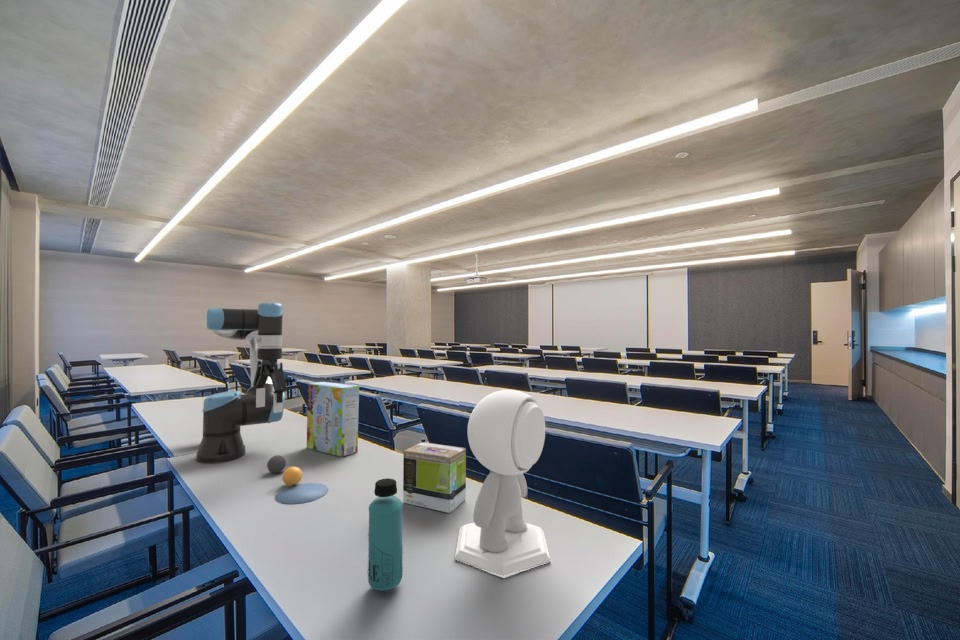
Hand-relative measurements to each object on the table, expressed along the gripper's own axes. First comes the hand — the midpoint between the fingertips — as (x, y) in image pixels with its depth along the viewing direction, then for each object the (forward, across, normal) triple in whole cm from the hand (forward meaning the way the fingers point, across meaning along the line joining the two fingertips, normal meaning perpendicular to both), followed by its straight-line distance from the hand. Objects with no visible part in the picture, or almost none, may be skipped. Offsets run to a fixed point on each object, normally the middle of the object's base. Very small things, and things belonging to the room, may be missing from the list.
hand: (268, 409), depth 136 cm
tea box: (+20, +62, +18) cm, 68 cm away
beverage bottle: (+20, +82, -14) cm, 85 cm away
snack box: (+20, 0, +24) cm, 31 cm away
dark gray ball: (+17, +8, 0) cm, 18 cm away
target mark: (+20, +29, -3) cm, 36 cm away
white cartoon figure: (+20, +90, +12) cm, 93 cm away
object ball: (+17, +22, -2) cm, 27 cm away
